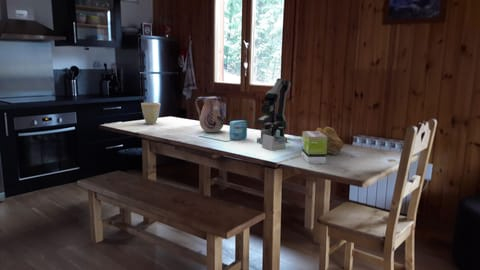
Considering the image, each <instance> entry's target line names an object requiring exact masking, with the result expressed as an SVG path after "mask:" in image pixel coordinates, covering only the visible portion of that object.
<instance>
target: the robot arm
mask: <svg viewBox="0 0 480 270" xmlns="http://www.w3.org/2000/svg"><path fill="white" fill-rule="evenodd" d="M291 85H292V83H291V82H290V80H287V79H285V78H276V82H275V83H274V85H272V88H271V89H269V90H268V91H266V94H265V96H264V100H263V103H264V104H263V105H262V106H261V111H262V113H263V114H264V115H263V116H261V117H259V118H258V124H261V125H262V126H263V127H264V129H272V136H274V134H275V132H276V131H277V130H280V136H281V137H285V138H287V136H285V134H286V133H285V131H286V130H287V129H288V124H287V121H286V119H287V118H286V116H285V108H286V99H287V94H288V93H289V91H290V89H291ZM277 103H278V104H277Z"/></svg>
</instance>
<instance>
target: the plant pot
mask: <svg viewBox="0 0 480 270" xmlns="http://www.w3.org/2000/svg"><path fill="white" fill-rule="evenodd" d="M160 109H161V103H159V102H141V110H142V115H143V119H144V121H145V123H146V125H147V124H148V125H156V124H157V121H158V117H159V114H160Z"/></svg>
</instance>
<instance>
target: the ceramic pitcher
mask: <svg viewBox="0 0 480 270" xmlns="http://www.w3.org/2000/svg"><path fill="white" fill-rule="evenodd" d="M200 100H202V102H203V106H202V109H201V110H200V108H199V104H198V101H200ZM194 101H195V108H196V111H197V113H198V120H199V125H200V128H201V129H202V130H203V131H204V132H206V133H218V132H219V131H221V130H222V129H223V127H224V124H225V119H224V118H225V117H224V113H223V110H222V105H221V101H222V98H221V97H218V96H199V97H197V98H196V99H195V100H194Z"/></svg>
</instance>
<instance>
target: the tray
mask: <svg viewBox="0 0 480 270" xmlns="http://www.w3.org/2000/svg"><path fill="white" fill-rule="evenodd" d="M285 137H286V136H285ZM285 137H281V136H280V137H275V138H274V142H279V144H286V143H288V137H286V138H285ZM256 143H258V144H261V145H262V143H263V138H261V137H257V138H256Z"/></svg>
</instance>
